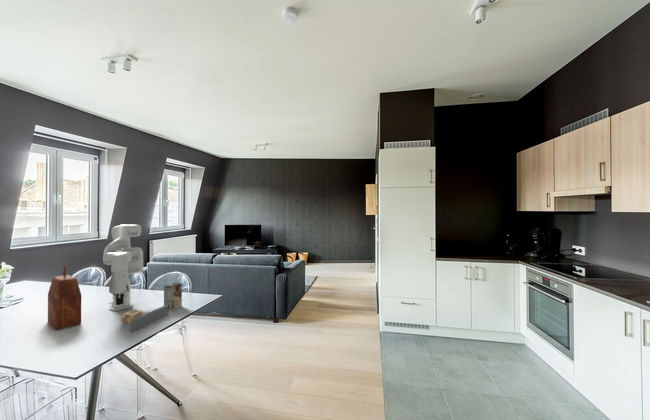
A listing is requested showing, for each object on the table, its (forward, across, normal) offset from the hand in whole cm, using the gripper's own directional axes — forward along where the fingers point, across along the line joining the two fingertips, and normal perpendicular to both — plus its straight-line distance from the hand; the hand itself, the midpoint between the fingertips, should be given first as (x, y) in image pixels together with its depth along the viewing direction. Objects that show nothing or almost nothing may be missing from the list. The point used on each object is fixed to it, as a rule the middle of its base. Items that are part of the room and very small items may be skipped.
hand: (119, 304), depth 156 cm
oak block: (+10, +8, +1) cm, 13 cm away
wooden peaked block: (+9, -27, -10) cm, 30 cm away
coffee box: (+10, +17, +23) cm, 30 cm away
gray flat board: (+10, +21, +1) cm, 23 cm away
